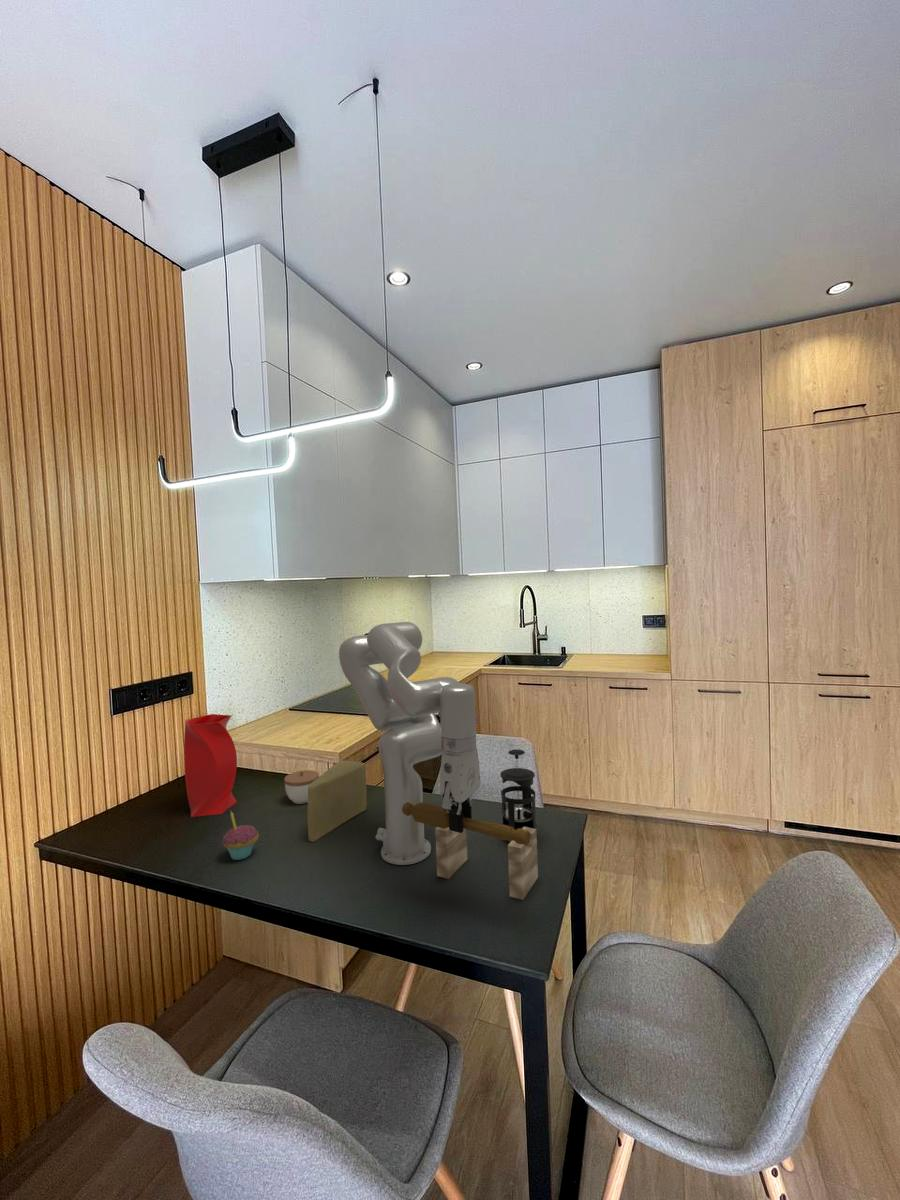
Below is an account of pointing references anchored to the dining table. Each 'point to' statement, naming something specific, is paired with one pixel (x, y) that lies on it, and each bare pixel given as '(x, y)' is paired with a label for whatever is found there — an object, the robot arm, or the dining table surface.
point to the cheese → (336, 797)
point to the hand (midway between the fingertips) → (460, 826)
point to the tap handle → (464, 822)
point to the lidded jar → (299, 785)
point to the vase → (209, 764)
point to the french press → (518, 815)
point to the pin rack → (519, 859)
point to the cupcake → (240, 840)
